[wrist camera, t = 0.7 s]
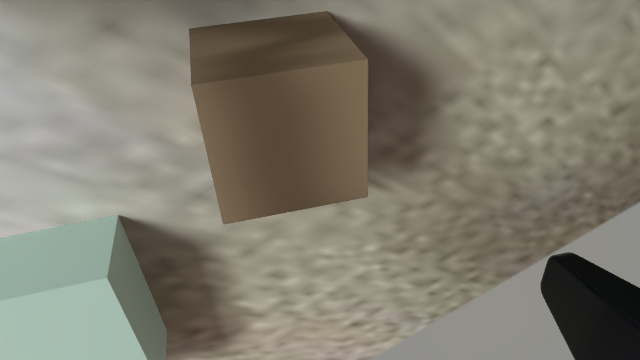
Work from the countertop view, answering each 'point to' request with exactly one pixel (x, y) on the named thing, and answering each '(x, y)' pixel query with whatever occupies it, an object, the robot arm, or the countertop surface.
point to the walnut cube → (281, 113)
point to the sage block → (76, 296)
